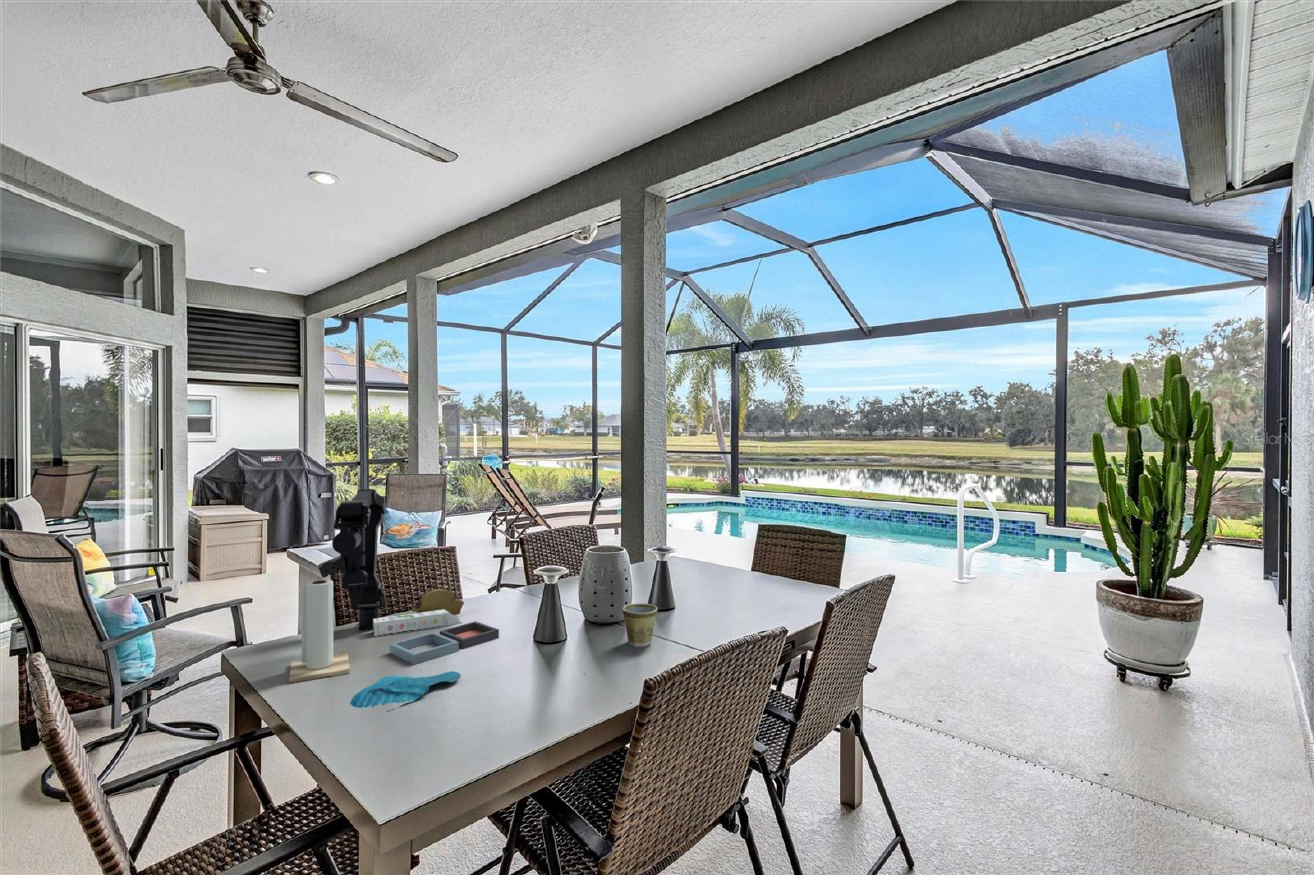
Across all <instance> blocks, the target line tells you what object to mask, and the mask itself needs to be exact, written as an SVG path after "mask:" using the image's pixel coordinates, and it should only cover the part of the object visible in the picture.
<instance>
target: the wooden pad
mask: <svg viewBox="0 0 1314 875" xmlns="http://www.w3.org/2000/svg"><path fill="white" fill-rule="evenodd" d="M289 671H290V672H289V678H288V683H289V684H292V683H291V682H295V683H298V682H297V681H300V682H302V681H301V680H306V681H311V680H318V679H321V678H320V677H324V678H327V677H326V676H330V677H336V676H340V675H347V674H350V673H351V668H350V660H349V653H348V652H344V653H337V654H333V664H332V665H330V666H328V667H325V668H320V669H308V668H307V666H306V663H304V664H302V659H299V660H293V661H291V663H290V670H289ZM346 673H347V674H346ZM317 678H318V679H317Z"/></svg>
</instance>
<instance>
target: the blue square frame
mask: <svg viewBox="0 0 1314 875" xmlns="http://www.w3.org/2000/svg"><path fill="white" fill-rule="evenodd" d="M431 642H432V643H433V644H435V645H438V646H435V647H432V648H428V649H425V650H421V651H418V652H414V651H412V650H410V649H413V648H417V647H421V646H424V645H428V644H430V643H431ZM423 644H424V645H423ZM420 645H421V646H420ZM408 648H410V649H408ZM459 649H460V648H459V642H458V641H455V640H453V639H450V638H448V637H445V636H443V635H440V633H439V632H435V631H432V632H430V633H426V634H425V633H424V634H421V635H418V636H414V637H410V638H406V639H404V640H399V641H396V642H392V643H389V654H391V653H392V655H393V656H395V657H397V658H399V657H400V658H399V659H401V658H402V659H401V660H403V661H405V662H407V663H409V662H410V663H409V664H411V663H412V665H418V664H421V663H424V662H427V661H431V660H434V659H438V658H441V657H443V656H446V655H447V656H448V655H450V654H453V653H456V652H459Z"/></svg>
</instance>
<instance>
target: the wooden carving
mask: <svg viewBox="0 0 1314 875" xmlns="http://www.w3.org/2000/svg"><path fill="white" fill-rule="evenodd" d="M454 596H455V594H454V592H453V590H452V589H451V588H449V589H443V588H435V589H431V590H428V591H426V592H424V593H421V594H420V595H419V597H418V600H419V603H418V604H417V605H416V604H415V605H411V606H410V609H411V611H412V612H414V613H415V612H416V613H421V612H429V611H436V610H443V609H445V610H446V611H449V613H451V614H452V615H454V616H457V615H460V613H461V611H462V608H463V606H464V604H465V601H463V599H460V598H457V597H454Z"/></svg>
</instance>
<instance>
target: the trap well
mask: <svg viewBox="0 0 1314 875" xmlns="http://www.w3.org/2000/svg"><path fill="white" fill-rule="evenodd" d="M439 634H440V635H443V636H445V637H448V638H450V639H453V640H455V641H458V642H459V649H462V650H464V649H467V648H470V647H474V646H477V645H480V644H484V643H486V642H490V641H494V640H496V639H499V638H500V629H499V628H496V627H492V626H490V625H488V624H485V623H482V622H478V621H477V620H475V621H472V622H468V623H463V624H459V625H457V626H454V627H453V626H452V627H450V628H446V629H442V630H439ZM493 639H494V640H493Z"/></svg>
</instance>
